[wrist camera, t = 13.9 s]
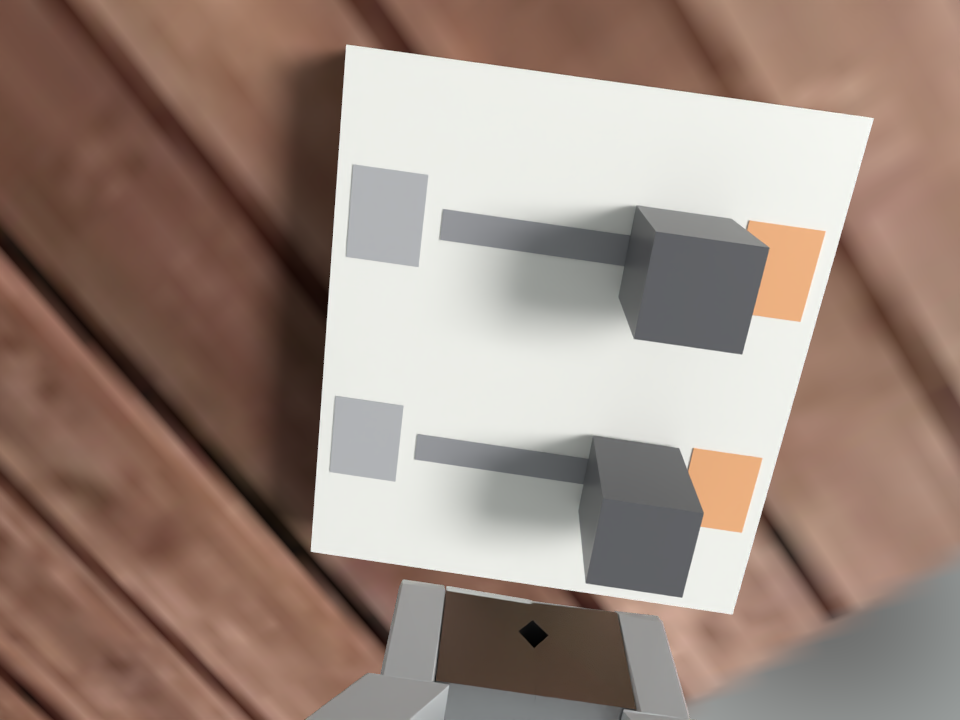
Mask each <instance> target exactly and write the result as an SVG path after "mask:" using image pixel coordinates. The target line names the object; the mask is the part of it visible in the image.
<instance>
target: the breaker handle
mask: <svg viewBox="0 0 960 720" xmlns="http://www.w3.org/2000/svg"><path fill="white" fill-rule="evenodd" d="M769 249H770V248H769V247H768V246H767V245H766V244H764V243H763V242H762V241H760V240H759V239H758V238H756V237H755V236H754V235H752V234H751V233H750V232H748V231H747V230H746V229H745V228H743V227H742V226H741V225H739V224H738V223H737V222H735V221H734V220H733V219H730V218H723V217H716V216H709V215H702V214H695V213H688V212H681V211H674V210H667V209H660V208H653V207H646V206H639V205H636V209H635V215H634V220H633V225H632V230H631V235H630V240H629V245H628V250H627V255H626V261H625V266H624V271H623V276H622V281H621V286H620V291H619V296H618V297H619V300H620V303H621V306H622V308H623V311H624V314H625V316H626V319H627V322H628V325H629V327H630V330H631V333H632V336H633V338H634V339H637V340H644V341H651V342H658V343H665V344H672V345H679V346H685V347H692V348H699V349H706V350H713V351H720V352H727V353H734V354H741V355H742V354H743V350H744V346H745V342H746V339H747V335H748V331H749V327H750V323H751V319H752V315H753V311H754V307H755V303H756V299H757V296H758V292H759V288H760V284H761V280H762V276H763V272H764V268H765V264H766V260H767V257H768V253H769Z"/></svg>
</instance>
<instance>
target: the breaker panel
mask: <svg viewBox="0 0 960 720" xmlns="http://www.w3.org/2000/svg"><path fill="white" fill-rule="evenodd" d="M873 119H874V118H869V117H862V116H855V115H848V114H841V113H834V112H827V111H820V110H813V109H806V108H799V107H791V106H784V105H777V104H770V103H763V102H755V101H748V100H741V99H734V98H727V97H720V96H712V95H705V94H698V93H691V92H684V91H677V90H669V89H662V88H655V87H648V86H641V85H634V84H626V83H619V82H612V81H605V80H598V79H591V78H583V77H576V76H569V75H562V74H555V73H548V72H540V71H533V70H526V69H519V68H512V67H505V66H497V65H490V64H483V63H476V62H469V61H462V60H454V59H447V58H440V57H433V56H426V55H419V54H411V53H404V52H397V51H390V50H383V49H375V48H368V47H361V46H353V45H346V56H345V70H344V84H343V99H342V113H341V127H340V142H339V156H338V170H337V185H336V199H335V213H334V228H333V242H332V256H331V271H330V285H329V299H328V314H327V328H326V342H325V357H324V371H323V385H322V400H321V414H320V428H319V442H318V457H317V471H316V485H315V500H314V514H313V528H312V543H311V552H317V553H323V554H330V555H337V556H344V557H350V558H357V559H364V560H370V561H377V562H384V563H391V564H397V565H404V566H411V567H417V568H424V569H431V570H438V571H444V572H451V573H458V574H464V575H471V576H478V577H485V578H491V579H498V580H505V581H511V582H518V583H525V584H532V585H538V586H545V587H552V588H558V589H565V590H572V591H579V592H585V593H592V594H599V595H605V596H612V597H619V598H626V599H632V600H639V601H646V602H652V603H659V604H666V605H673V606H679V607H686V608H693V609H699V610H706V611H713V612H720V613H726V614H733V611H734V607H735V604H736V600H737V597H738V593H739V590H740V586H741V583H742V579H743V576H744V572H745V569H746V565H747V562H748V558H749V555H750V551H751V548H752V544H753V541H754V537H755V534H756V530H757V527H758V523H759V520H760V516H761V513H762V509H763V506H764V502H765V499H766V495H767V492H768V488H769V485H770V481H771V478H772V474H773V471H774V467H775V463H776V460H777V456H778V453H779V449H780V446H781V442H782V439H783V435H784V432H785V428H786V425H787V421H788V418H789V414H790V411H791V407H792V404H793V400H794V397H795V393H796V390H797V386H798V383H799V379H800V376H801V372H802V369H803V365H804V362H805V358H806V355H807V351H808V348H809V344H810V341H811V337H812V334H813V330H814V327H815V323H816V320H817V316H818V312H819V309H820V305H821V302H822V298H823V295H824V291H825V288H826V284H827V281H828V277H829V274H830V270H831V267H832V263H833V260H834V256H835V253H836V249H837V246H838V242H839V239H840V235H841V232H842V228H843V225H844V221H845V218H846V214H847V211H848V207H849V204H850V200H851V197H852V193H853V190H854V186H855V183H856V179H857V176H858V172H859V168H860V165H861V161H862V158H863V154H864V151H865V147H866V144H867V140H868V137H869V133H870V130H871V126H872V123H873ZM636 205H639V206H646V207H653V208H660V209H667V210H674V211H681V212H688V213H695V214H702V215H709V216H716V217H723V218H730V219H733V220H734V221H735V222H737V223H738V224H739V225H741V226H742V227H743V228H745V229H746V230H747V231H748V232H750V233H751V234H752V235H754V236H755V237H756V238H758V239H759V240H760V241H762V242H763V243H764V244H766V245H767V246H768V247H769V248H770V249H769V253H768V257H767V260H766V264H765V268H764V272H763V276H762V280H761V284H760V288H759V292H758V296H757V299H756V303H755V307H754V311H753V315H752V319H751V323H750V327H749V331H748V335H747V339H746V342H745V346H744V350H743V354H742V355H741V354H734V353H727V352H720V351H713V350H706V349H699V348H692V347H685V346H679V345H672V344H665V343H658V342H651V341H644V340H637V339H634V338H633V336H632V333H631V330H630V327H629V325H628V322H627V319H626V316H625V314H624V311H623V308H622V306H621V303H620V300H619V297H618V296H619V291H620V286H621V281H622V276H623V271H624V266H625V261H626V255H627V250H628V245H629V240H630V235H631V230H632V225H633V220H634V215H635V209H636ZM593 436H600V437H606V438H613V439H620V440H627V441H634V442H641V443H648V444H654V445H661V446H668V447H675V448H679V449H680V452H681V454H682V457H683V459H684V462H685V465H686V467H687V470H688V473H689V475H690V478H691V480H692V483H693V486H694V488H695V491H696V494H697V496H698V499H699V501H700V504H701V507H702V509H703V512H704V515H703V519H702V523H701V527H700V531H699V535H698V538H697V542H696V546H695V550H694V554H693V558H692V562H691V566H690V570H689V573H688V577H687V581H686V585H685V589H684V593H683V597H682V598H680V597H673V596H667V595H660V594H653V593H646V592H640V591H633V590H626V589H620V588H613V587H606V586H599V585H593V584H586V583H585V573H584V563H583V553H582V543H581V533H580V523H579V513H578V510H579V505H580V500H581V495H582V490H583V484H584V479H585V474H586V469H587V464H588V459H589V454H590V449H591V444H592V439H593Z"/></svg>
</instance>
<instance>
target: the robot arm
mask: <svg viewBox="0 0 960 720" xmlns="http://www.w3.org/2000/svg"><path fill="white" fill-rule="evenodd" d="M305 720H693V719H690V716H689V712H688V709H687V705H686V702H685V698H684V695H683V691H682V688H681V684H680V681H679V677H678V674H677V670H676V667H675V663H674V660H673V656H672V653H671V649H670V646H669V642H668V639H667V635H666V632H665V628H664V625H663V621H662V620H661V619H660V618H659V617H658V616H654V615H645V614H636V613H627V612H618V611H615V612H609V611H602V610H594V609H587V608H579V607H572V606H564V605H556V604H549V603H541V602H534V601H531V600H527V599H521V598H515V597H510V596H504V595H498V594H492V593H486V592H480V591H474V590H468V589H462V588H456V587H450V586H447V587H446V593H445V587H444V585H437V584H431V583H424V582H417V581H410V580H403V581H402V582H401V584H400V586H399V591H398V595H397V600H396V605H395V609H394V614H393V619H392V623H391V628H390V633H389V637H388V642H387V647H386V651H385V656H384V660H383V665H382V670H381V674H372V673H367V674H365V675H364V676H363V677H361V678H360V679H358V680H357V681H356V682H354V683H353V684H352V685H350V686H349V687H348V688H346V689H345V690H344V691H342V692H341V693H340V694H338V695H337V696H336V697H334V698H333V699H332V700H330V701H329V702H328V703H326V704H325V705H324V706H322V707H321V708H320V709H318V710H317V711H316V712H314V713H313V714H311V715H310V716H309V717H307V718H306V719H305Z"/></svg>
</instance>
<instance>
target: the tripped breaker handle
mask: <svg viewBox="0 0 960 720" xmlns="http://www.w3.org/2000/svg"><path fill="white" fill-rule="evenodd" d="M578 513H579V523H580V533H581V543H582V553H583V563H584V573H585V583H586V584H593V585H599V586H606V587H613V588H620V589H626V590H633V591H640V592H646V593H653V594H660V595H667V596H673V597H680V598H682V597H683V593H684V589H685V585H686V581H687V577H688V573H689V570H690V566H691V562H692V558H693V554H694V550H695V546H696V542H697V538H698V535H699V531H700V527H701V523H702V519H703V515H704V512H703V509H702V507H701V504H700V501H699V499H698V496H697V494H696V491H695V488H694V486H693V483H692V480H691V478H690V475H689V473H688V470H687V467H686V465H685V462H684V459H683V457H682V454H681V452H680V449H679V448H675V447H668V446H661V445H654V444H648V443H641V442H634V441H627V440H620V439H613V438H606V437H600V436H593V439H592V444H591V449H590V454H589V459H588V464H587V469H586V474H585V479H584V484H583V490H582V495H581V500H580V505H579V510H578Z"/></svg>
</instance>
